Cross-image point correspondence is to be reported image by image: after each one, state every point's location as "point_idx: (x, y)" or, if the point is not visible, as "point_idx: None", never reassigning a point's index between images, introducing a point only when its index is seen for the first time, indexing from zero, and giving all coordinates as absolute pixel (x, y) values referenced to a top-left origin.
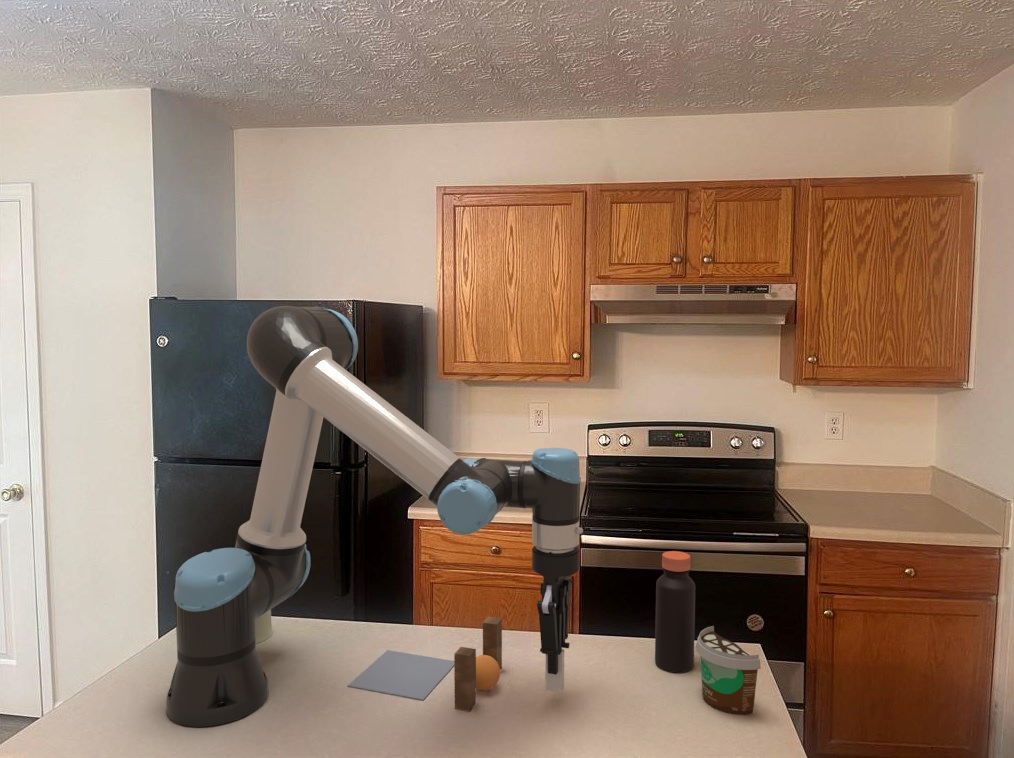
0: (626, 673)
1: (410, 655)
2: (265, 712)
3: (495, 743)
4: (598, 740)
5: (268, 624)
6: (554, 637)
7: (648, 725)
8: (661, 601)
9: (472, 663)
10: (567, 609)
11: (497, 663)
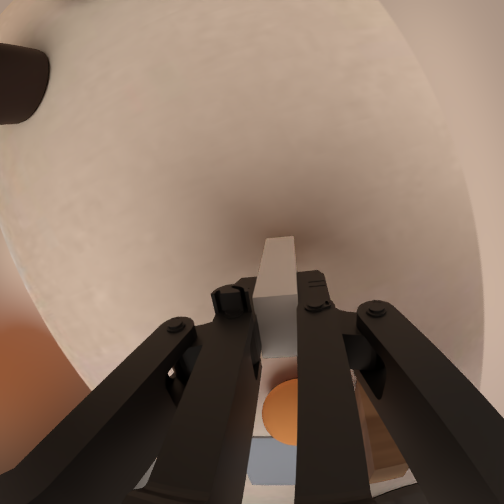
0: (80, 143)
1: (251, 471)
2: (412, 481)
3: (469, 291)
4: (404, 94)
5: None
6: (451, 368)
7: (283, 7)
8: None
9: (392, 445)
10: (104, 426)
11: (284, 411)
